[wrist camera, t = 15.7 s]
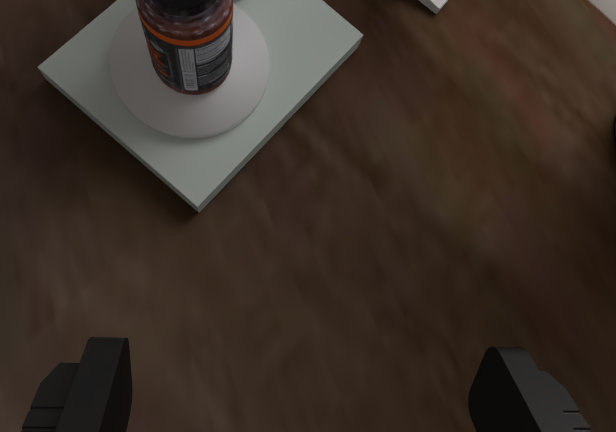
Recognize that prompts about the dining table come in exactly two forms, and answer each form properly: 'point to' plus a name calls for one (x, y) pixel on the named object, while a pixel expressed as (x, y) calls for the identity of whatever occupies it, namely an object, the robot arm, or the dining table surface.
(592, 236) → the dining table surface
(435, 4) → the headphone stand
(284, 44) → the press
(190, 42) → the supplement bottle
